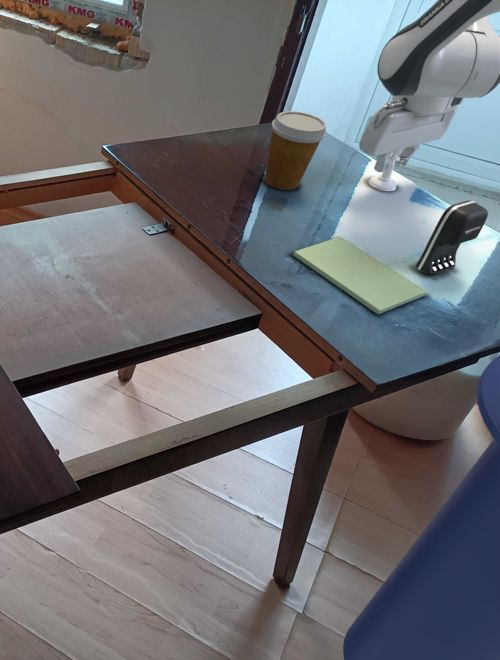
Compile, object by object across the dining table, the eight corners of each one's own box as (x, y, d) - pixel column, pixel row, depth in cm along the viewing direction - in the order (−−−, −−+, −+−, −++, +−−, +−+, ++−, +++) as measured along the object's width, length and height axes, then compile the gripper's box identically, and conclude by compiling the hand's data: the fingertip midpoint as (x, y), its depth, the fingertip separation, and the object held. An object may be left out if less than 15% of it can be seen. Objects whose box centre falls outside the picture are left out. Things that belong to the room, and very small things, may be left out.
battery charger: (432, 281, 108) (467, 217, 100) (412, 268, 110) (445, 205, 102) (460, 271, 110) (497, 208, 103) (440, 258, 113) (474, 196, 105)
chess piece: (395, 193, 129) (418, 143, 123) (368, 187, 130) (389, 137, 124) (395, 182, 133) (417, 133, 126) (368, 176, 134) (389, 127, 127)
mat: (425, 295, 105) (427, 291, 104) (377, 314, 100) (380, 310, 100) (339, 240, 115) (340, 236, 115) (292, 255, 111) (294, 251, 110)
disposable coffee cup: (284, 167, 135) (304, 107, 127) (317, 190, 128) (340, 128, 120) (245, 174, 131) (263, 113, 124) (277, 197, 125) (298, 135, 117)
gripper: (398, 110, 114) (366, 185, 123) (472, 93, 122) (437, 165, 131) (367, 96, 118) (339, 170, 127) (441, 81, 126) (409, 151, 135)
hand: (389, 167), depth 129 cm, fingers open, 4 cm apart
